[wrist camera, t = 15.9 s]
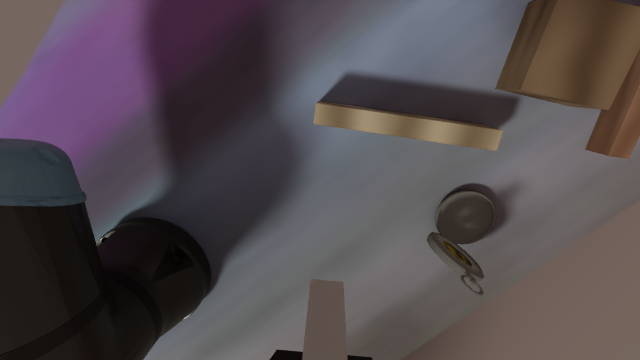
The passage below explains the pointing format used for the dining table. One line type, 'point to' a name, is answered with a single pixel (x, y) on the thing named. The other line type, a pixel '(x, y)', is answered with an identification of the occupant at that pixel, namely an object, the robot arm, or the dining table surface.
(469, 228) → the pocket watch
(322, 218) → the dining table surface
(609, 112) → the brown wooden pieces
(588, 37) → the block
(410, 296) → the dining table surface
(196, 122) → the dining table surface
